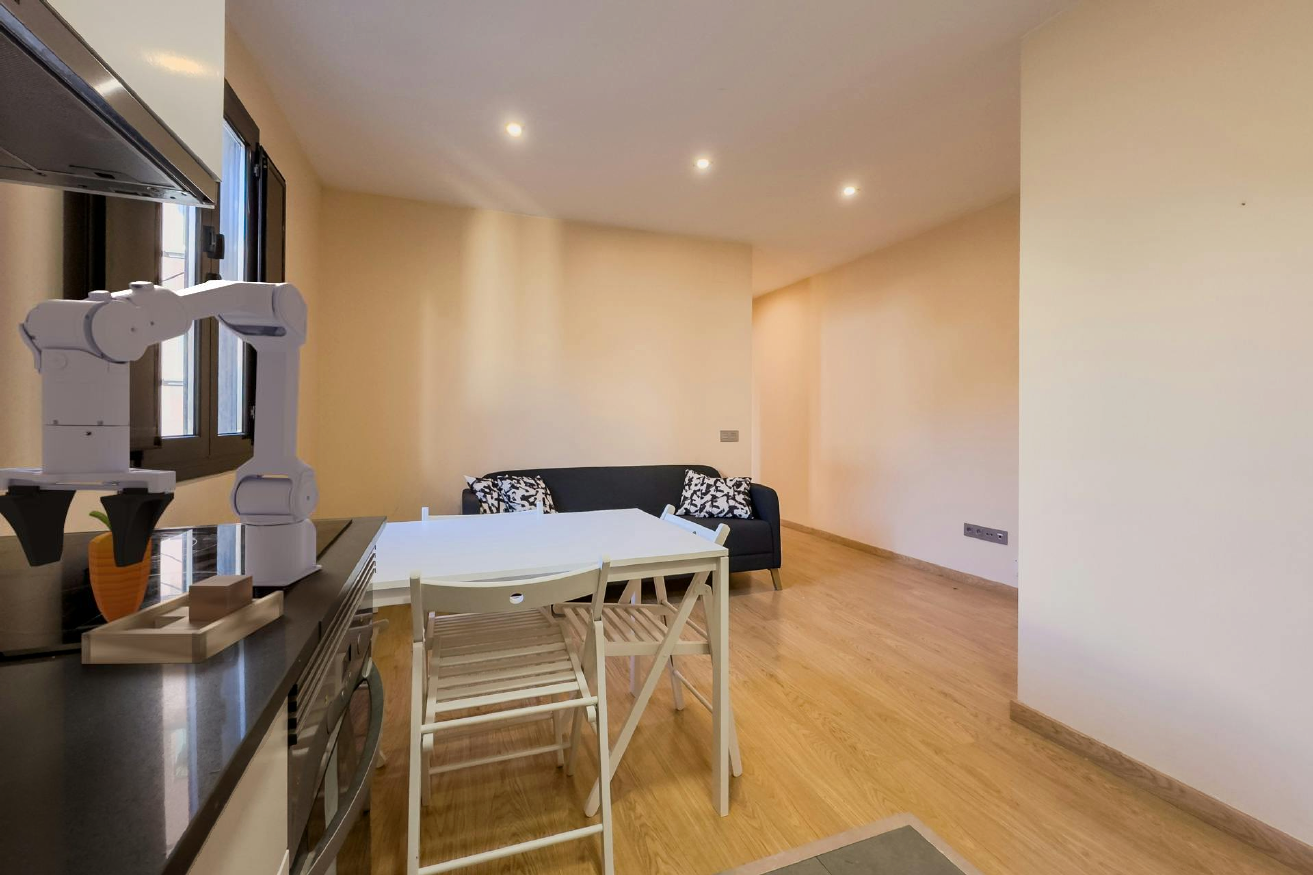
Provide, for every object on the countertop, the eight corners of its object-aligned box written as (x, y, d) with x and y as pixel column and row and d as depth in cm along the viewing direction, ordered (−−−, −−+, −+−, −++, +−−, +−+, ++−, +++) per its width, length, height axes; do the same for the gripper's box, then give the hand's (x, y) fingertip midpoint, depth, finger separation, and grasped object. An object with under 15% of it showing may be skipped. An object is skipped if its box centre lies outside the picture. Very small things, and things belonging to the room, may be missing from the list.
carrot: (118, 641, 56) (118, 504, 56) (74, 639, 56) (74, 502, 56) (163, 623, 61) (163, 497, 61) (122, 621, 61) (122, 496, 61)
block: (216, 608, 61) (216, 574, 61) (252, 608, 61) (252, 575, 61) (188, 621, 57) (188, 585, 57) (227, 621, 57) (227, 585, 57)
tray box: (189, 614, 64) (189, 590, 64) (283, 614, 65) (283, 590, 65) (81, 663, 51) (81, 633, 51) (200, 662, 52) (200, 633, 52)
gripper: (-49, 423, 45) (-47, 575, 46) (129, 428, 46) (129, 576, 47) (41, 422, 52) (41, 555, 53) (193, 427, 53) (192, 556, 54)
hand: (87, 564), depth 50 cm, fingers open, 7 cm apart
